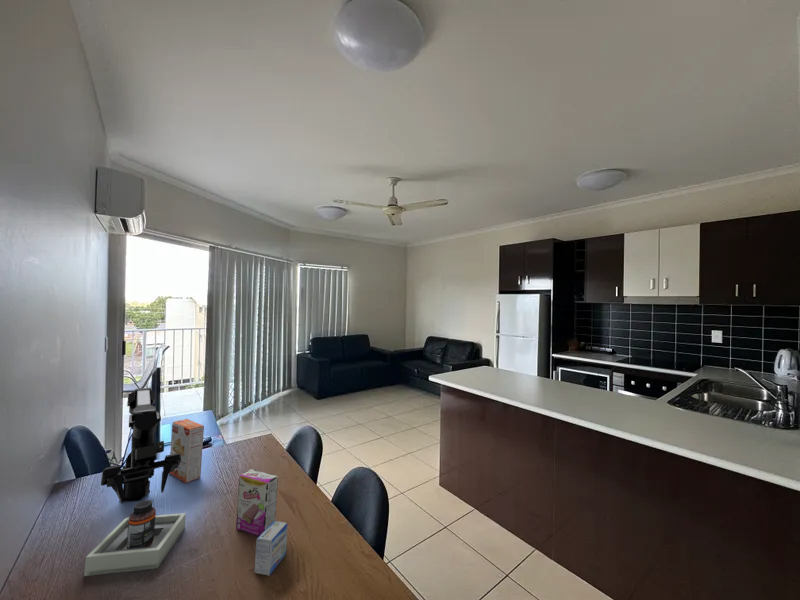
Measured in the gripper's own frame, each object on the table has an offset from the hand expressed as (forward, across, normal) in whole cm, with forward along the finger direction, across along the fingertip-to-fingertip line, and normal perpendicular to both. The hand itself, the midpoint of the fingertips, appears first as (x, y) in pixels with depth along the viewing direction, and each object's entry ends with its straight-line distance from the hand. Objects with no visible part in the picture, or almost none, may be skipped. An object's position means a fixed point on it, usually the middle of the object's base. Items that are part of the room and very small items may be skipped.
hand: (143, 497), depth 94 cm
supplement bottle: (+12, 0, +4) cm, 12 cm away
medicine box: (+32, +25, -16) cm, 43 cm away
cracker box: (-16, +17, +32) cm, 40 cm away
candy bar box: (+20, +27, -4) cm, 34 cm away
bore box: (+12, 0, +4) cm, 13 cm away
